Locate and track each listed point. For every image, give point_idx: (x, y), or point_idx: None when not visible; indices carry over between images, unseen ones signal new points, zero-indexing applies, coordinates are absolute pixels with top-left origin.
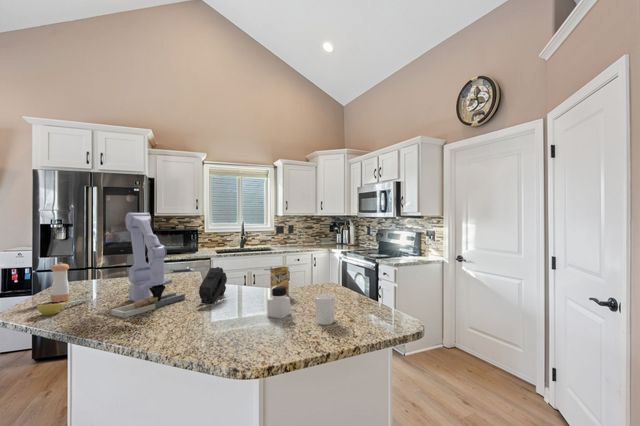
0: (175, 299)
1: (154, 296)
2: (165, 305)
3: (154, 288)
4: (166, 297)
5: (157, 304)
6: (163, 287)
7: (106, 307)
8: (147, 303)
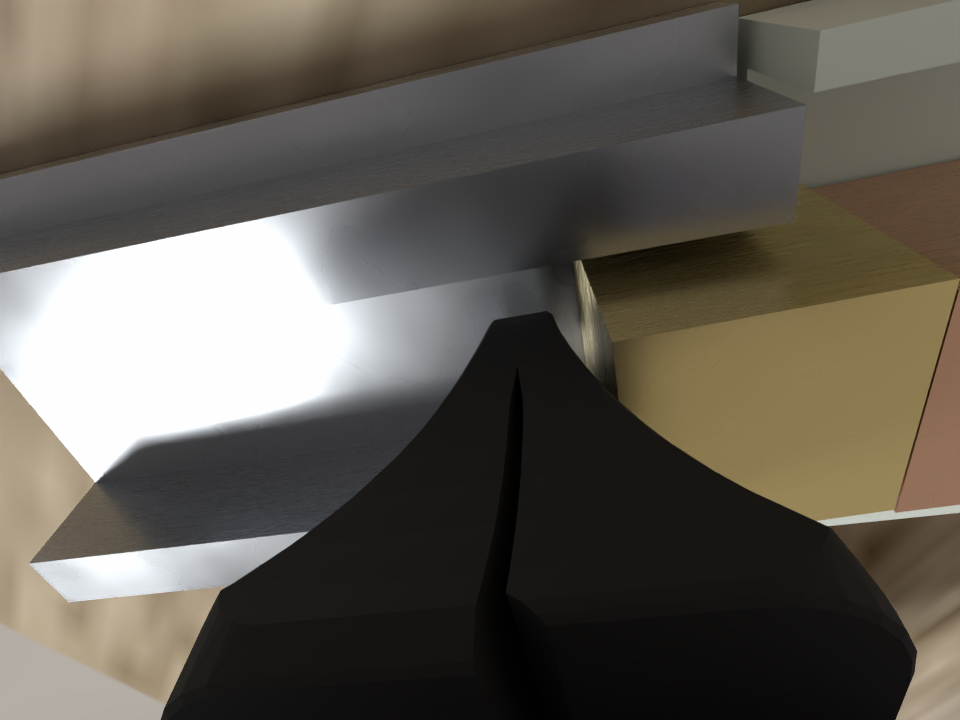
0: (107, 230)
1: None
2: (436, 94)
3: (896, 705)
4: (260, 498)
5: (674, 107)
6: (323, 617)
7: None
8: (931, 236)
